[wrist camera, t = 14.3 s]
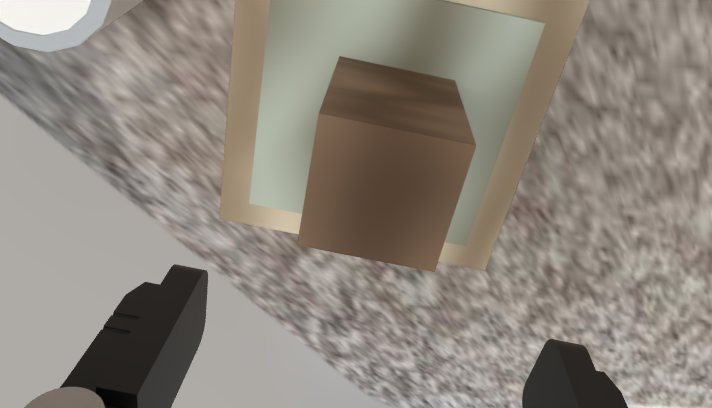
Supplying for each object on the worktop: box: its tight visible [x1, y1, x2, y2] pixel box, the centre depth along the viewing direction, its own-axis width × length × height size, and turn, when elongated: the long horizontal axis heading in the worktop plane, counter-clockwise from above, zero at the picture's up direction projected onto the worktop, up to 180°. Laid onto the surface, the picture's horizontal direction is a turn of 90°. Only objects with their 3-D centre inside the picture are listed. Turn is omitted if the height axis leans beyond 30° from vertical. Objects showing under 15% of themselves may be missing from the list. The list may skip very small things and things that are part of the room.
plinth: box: [219, 0, 590, 271], centre depth 26 cm, size 14×14×4 cm
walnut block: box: [297, 56, 476, 272], centre depth 21 cm, size 5×5×7 cm
